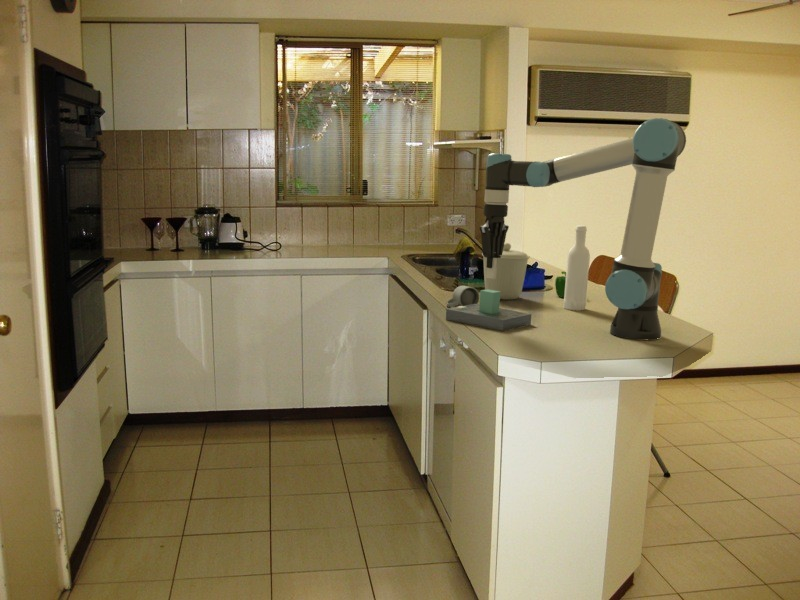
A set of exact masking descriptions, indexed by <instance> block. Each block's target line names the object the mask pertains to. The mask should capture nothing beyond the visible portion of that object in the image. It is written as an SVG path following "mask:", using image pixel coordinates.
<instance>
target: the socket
mask: <svg viewBox="0 0 800 600" xmlns="http://www.w3.org/2000/svg"><path fill="white" fill-rule="evenodd" d="M479 304H480V303H478V304H471V305H465V306H459V305H458V306H455V307H447V308H446V310H445V311H446V312H445V320H446V321H452V322H457V323H461V324H465V325H466V324H467V325H471V326H476V327H480V328H485V329H488V330H494V329H496V330H495V331H499V330H501V331H500V332H505V330H506V331H511V330H513V329H514V330H515V329H519V328H522V327H526V326H531V325H532V314H531V313H529V312H528V313H527V312H522V311H517V310H513V309H512V310H511V309H505V308H501V307H499V313H495V314H489V313H484V312H479ZM510 329H511V330H510Z"/></svg>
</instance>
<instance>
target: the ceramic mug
mask: <svg viewBox="0 0 800 600" xmlns="http://www.w3.org/2000/svg"><path fill="white" fill-rule="evenodd" d="M479 303H480V292H479V290H477V289H476V288H475V287H473V286H467V285H459V286H458V287H457V286H456V287H455V289H454V290H453V292H452V297H451V298H450V299H448V300H447V301H446V302H445V304H446V307H447V308H454V307H459V306H465V305H471V304H479Z"/></svg>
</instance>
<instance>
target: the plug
mask: <svg viewBox="0 0 800 600" xmlns="http://www.w3.org/2000/svg"><path fill="white" fill-rule="evenodd" d="M500 303H501V299H500V291H494V290H489V289H487V290H485V289H482V290H480V291H479V303H478V304H479V312H484V313H489V314H495V313H499V308H500Z"/></svg>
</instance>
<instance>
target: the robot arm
mask: <svg viewBox="0 0 800 600" xmlns="http://www.w3.org/2000/svg"><path fill="white" fill-rule="evenodd" d="M686 144H687V135H686V132H685V130H684V129H683V128H682V127H681V126H680V125H679V124H678V123H677V122H674V121H671V120H669V119H667V118H662V117H661V118H657V117H656V118H651V119H648V120H645V121H644V122H643V123H641V124H640V125H639V126H638V127H637V129H636V130H635V132H634V134H633V137H632V138H629V139H625V140H622V141H616V142H612V143H609V144H606V145H603V146H602V145H601V146H598V147H594V148H591V149H587V150H583V151H578V152H575V153H573V154H572V153H571V154H568V155H564V156H560V157H557V158H554V159H553V158H552V159H548V160H545V161H538V160H537V161H530V160H529V161H527V160H526V161H525V160H524V161H523V160H521V161H520V160H513V159H512V155H511V154H510V153H490V154H488V155H487V158H486V167H485V186H484V200H483V201H484V204H483V216H485V220H484V224H483V225H480V226H479V231H480V234H481V248H482V249H481V250H482V251H481V252H482V253H483V256H484V257H487V272H486V278H491V279H495V278H496V269H497V259H498V258H501V256H500V255H502V253H503V248H504V243H506V237H507V233H508V230H509V225H508V224H507V225H506V224H505V217H507V216H508V209H509V206H508V203H509V200H510V199H509V195H510V186H519V187H529V188H530V187H531V188H545V187H550V186H552V185H554V184H558V183H561V182H564V181H565V182H566V181H569V180H573V179H577V178H582V177H586V176H589V175H594V174H598V173H602V172H606V171H610V170H614V169H618V168H623V167H626V166H630V165H632V167H633V169H634V170H635V177H634V182H633V188H632V192H631V198H630V202H629V208H628V214H627V218H626V225H625V228H624V229H625V230H624V234H623V240H622V245H621V250H620V254H619V255H617V256H616V257H615V258H614V259H613V262H612V269H611V273H610V275H609V276H608V278H607V280H606V281H605V286H604V291H605V294H606V295H605V296H606V298H607V300H608V301H609V302H610V303H611V304H612V305H613V306H614V307H616V308H617V311H616V313H615V315H614V316H613V320H612V321H611V324H610V329H609V333H610V334H611V335H613V336H615V335H616V337H619V338H624V339H628V338H629V339H630V340H637V339H656V340H658V339H657V338H660V337H661V336H662V328H661V324H660V318H659V315H658V314H659V312H658V309H659V302H660V301H659V299H660V291H661V290H660V289H661V283H662V282H661V280H662V276H663V272H662V271H663V270H662V268H663V267H662V265H661V264H660V263H658V262H653V261H652V256H653V251H654V245H655V240H656V236H657V230H658V226H659V221H660V216H661V210H662V205H663V200H664V197H665V191H666V187H667V186H666V185H667V182H668V181H667V180H668V176H669V175H671V174H672V173H673V172H675V170H676V164H677V160H678V157H679V156H681V154H682V153H683V151H684V150H685V147H686ZM629 339H628V340H629ZM660 339H661V338H660Z"/></svg>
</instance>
